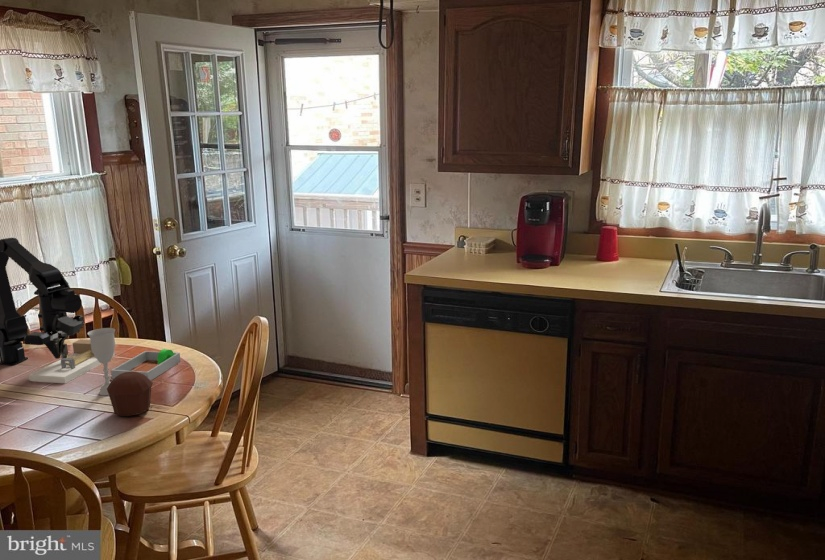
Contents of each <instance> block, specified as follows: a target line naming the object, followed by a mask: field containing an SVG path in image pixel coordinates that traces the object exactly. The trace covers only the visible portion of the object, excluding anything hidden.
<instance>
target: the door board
mask: <svg viewBox="0 0 825 560" xmlns="http://www.w3.org/2000/svg"><path fill="white" fill-rule="evenodd" d="M72 349H73V351H72V352H73V353H71V354H68V356H69V357H76V356H79V355H81V354H83V353H85V352H87V351H89V350H91V343H90V339H84V338H83V339H78V340H76V341H74V342H72ZM114 357H116V356H115V352H114V354H113V356H112V358H114ZM69 362H70V365H69ZM101 365H103V364H102V363H100V362H99V361H98V360H97V358H96V357H95V356H92V357H90V358H88V359H86V360H84V361H82V362H80V363H78V364H76V365H75V361H74V359H70V358H63V359H62V358H60V359H59V360H57V361H55V362H53V363H51V364H49V365H46V366H44V367H42V368H40V369H37V371H34V372H32V373H30V374H28V376H29V377H28V378H29V381H30V382H39V383H50V384H51V383H52V384H67V383H69V382H71V381H72V380H74V379H76V378H78V377H80V376H82V375H84V374H86V373H87V372H90V371H92V370H93V369H96V368H97V367H99V366H101Z"/></svg>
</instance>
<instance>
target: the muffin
mask: <svg viewBox="0 0 825 560" xmlns="http://www.w3.org/2000/svg"><path fill="white" fill-rule="evenodd" d="M135 371H136V370H130V372H124V373H121V374H119V375H118V376H116V377H115V378H114V379H113V380H112V379H111V381H110V382H111V383H110V384H109V386H108V388H107V391H108V394H109V395H108V396H109V400H110V402H111V407H112V409H113V413H114V414H116V415H118V416H120V417H121V416H124V417H125V416H127V417H131V416H135V415H141V414H143V413H144V412H146V411H148V410H149V408H150V407H151V397H152V396H151V395H152V387H153V380H150V379H149V378H148V377H147V376H145V375H144V374H141V373H139V372H135Z"/></svg>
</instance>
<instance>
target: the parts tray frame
mask: <svg viewBox="0 0 825 560" xmlns="http://www.w3.org/2000/svg"><path fill="white" fill-rule="evenodd" d="M159 352H160V351H153V350H152V351H151V350H144V351H143V352H141V353H139V354H137V355H136V356H133V357H132V358H130V359H129V360H126V361H124V362H123V363H121V364H119V365H118V366H115V367H114V368H111V370H110V376H111V381H112V380H113V379H114V378H115V377H116V376H118V375H119V374H121V373H124V372H130V371H132V370H134V368H136V367H138V366H139V365H141V364H143V363H144V362H146V361H153V362H154V361H155V362H158V360H157V359H158V354H159ZM173 353H174V355H173V356H172V357H170V358H169V359H167V360H165V361H164V362H162V363H160V364H159V365H158V364H157V365H156V366H154V367H152V368H151V369H149V370H148V371H144V370H143V371H140V370H134V371H135V372H139V373H141V374H144V375H145V376H147V377H148V378H149V379H150V380H151V381H153V380H155V378H157V377H159V376H160V375H162V374H164V373H165V372H166V371H168V370H170V369H172V368H173V367H175V366H176V365H177V364H179V363H181V353H180V352H174V351H173Z"/></svg>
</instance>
